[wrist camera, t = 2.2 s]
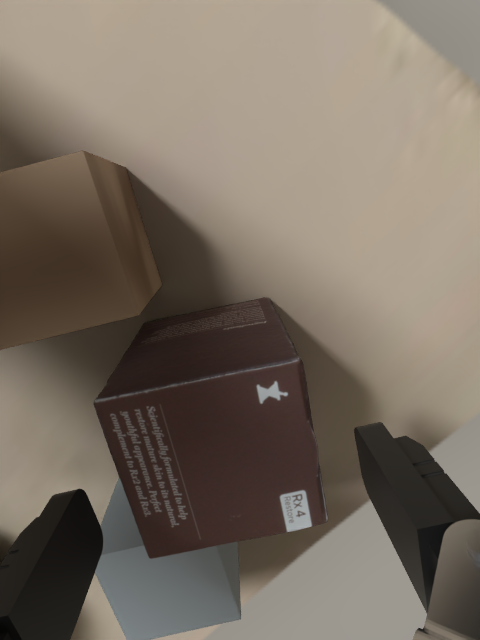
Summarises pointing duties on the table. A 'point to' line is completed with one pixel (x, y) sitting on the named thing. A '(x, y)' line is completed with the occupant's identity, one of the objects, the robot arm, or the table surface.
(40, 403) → the table surface
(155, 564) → the grey block
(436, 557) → the robot arm
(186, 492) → the box
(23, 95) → the table surface
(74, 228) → the walnut block
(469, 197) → the table surface
